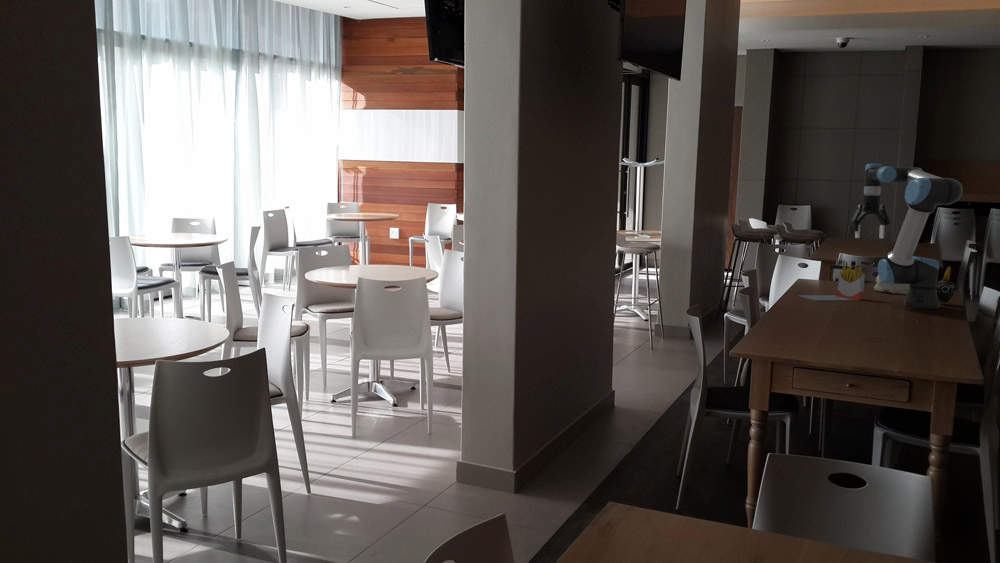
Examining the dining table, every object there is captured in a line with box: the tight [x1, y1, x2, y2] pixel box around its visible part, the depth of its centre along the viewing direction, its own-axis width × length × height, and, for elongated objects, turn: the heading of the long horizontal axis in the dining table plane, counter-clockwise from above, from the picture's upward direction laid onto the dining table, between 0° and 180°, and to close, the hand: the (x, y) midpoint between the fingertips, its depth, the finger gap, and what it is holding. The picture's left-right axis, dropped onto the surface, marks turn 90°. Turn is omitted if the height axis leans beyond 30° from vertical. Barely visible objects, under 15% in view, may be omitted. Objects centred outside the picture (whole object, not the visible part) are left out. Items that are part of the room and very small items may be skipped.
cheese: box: [873, 274, 909, 295], centre depth 428 cm, size 15×7×15 cm
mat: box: [797, 294, 854, 302], centre depth 405 cm, size 16×20×1 cm
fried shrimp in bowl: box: [937, 266, 956, 304], centre depth 398 cm, size 9×11×18 cm
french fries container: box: [836, 266, 866, 301], centre depth 406 cm, size 5×11×18 cm, turn 43°
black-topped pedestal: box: [829, 259, 861, 280], centre depth 469 cm, size 28×26×13 cm
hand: (869, 238), depth 415 cm, fingers open, 13 cm apart
